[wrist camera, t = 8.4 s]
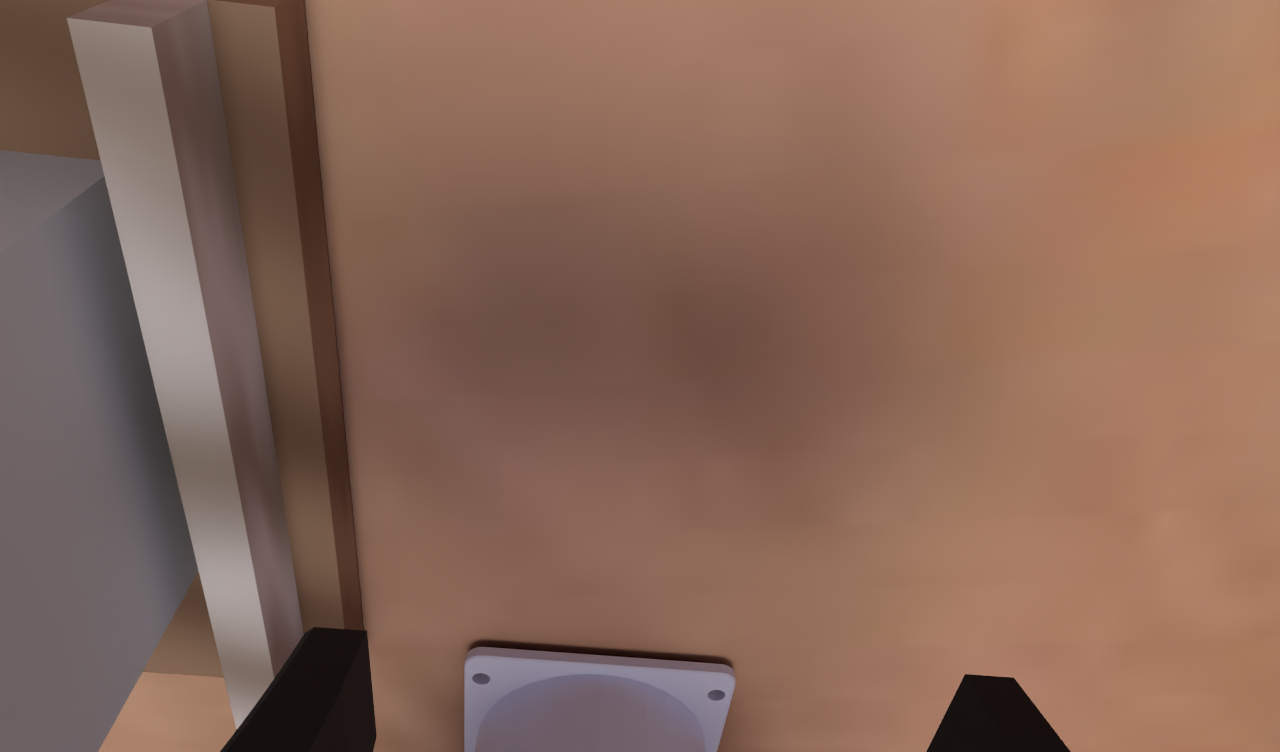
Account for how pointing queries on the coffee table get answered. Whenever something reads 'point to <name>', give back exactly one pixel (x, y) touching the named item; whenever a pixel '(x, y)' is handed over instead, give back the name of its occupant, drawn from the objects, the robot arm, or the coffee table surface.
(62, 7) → the track base
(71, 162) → the door panel
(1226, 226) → the coffee table surface
